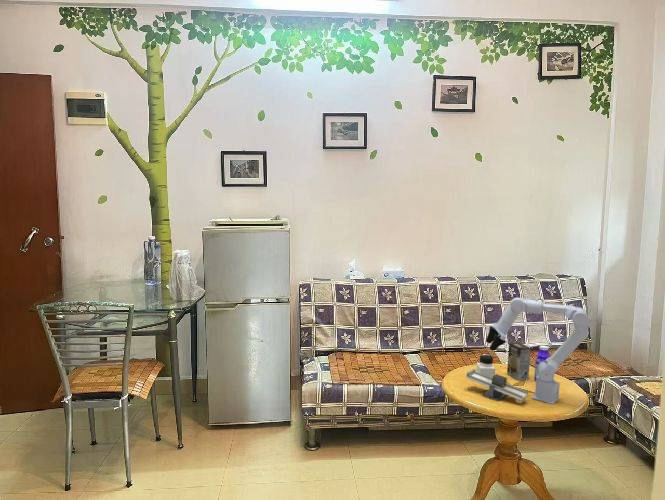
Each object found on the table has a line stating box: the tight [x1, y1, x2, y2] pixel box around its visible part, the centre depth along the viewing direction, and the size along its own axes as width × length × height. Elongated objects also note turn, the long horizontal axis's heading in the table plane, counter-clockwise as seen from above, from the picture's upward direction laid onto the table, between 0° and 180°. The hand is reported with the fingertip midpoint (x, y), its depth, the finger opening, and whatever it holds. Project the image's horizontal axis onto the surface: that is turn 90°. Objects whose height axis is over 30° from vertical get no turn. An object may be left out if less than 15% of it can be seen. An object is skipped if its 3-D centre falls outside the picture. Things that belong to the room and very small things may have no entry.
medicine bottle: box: [475, 353, 496, 378], centre depth 256 cm, size 7×7×12 cm
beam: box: [465, 368, 529, 404], centre depth 237 cm, size 26×7×5 cm, turn 49°
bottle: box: [533, 345, 551, 381], centre depth 254 cm, size 7×6×17 cm
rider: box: [491, 373, 508, 388], centre depth 236 cm, size 5×4×4 cm
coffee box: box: [506, 341, 532, 381], centre depth 260 cm, size 9×6×16 cm
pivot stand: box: [481, 386, 507, 402], centre depth 237 cm, size 8×10×6 cm
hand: (489, 346), depth 240 cm, fingers open, 7 cm apart
